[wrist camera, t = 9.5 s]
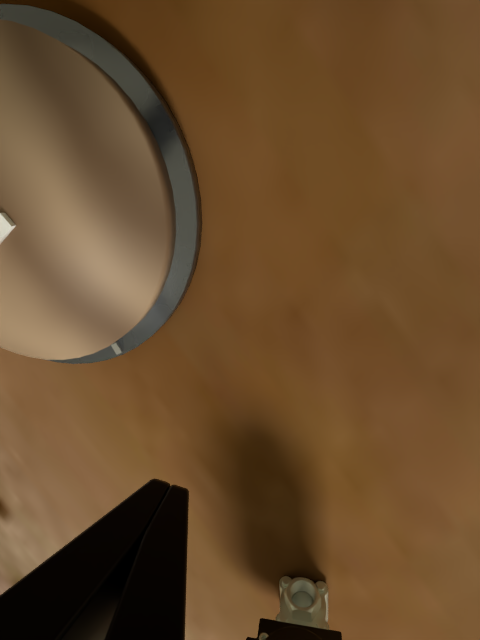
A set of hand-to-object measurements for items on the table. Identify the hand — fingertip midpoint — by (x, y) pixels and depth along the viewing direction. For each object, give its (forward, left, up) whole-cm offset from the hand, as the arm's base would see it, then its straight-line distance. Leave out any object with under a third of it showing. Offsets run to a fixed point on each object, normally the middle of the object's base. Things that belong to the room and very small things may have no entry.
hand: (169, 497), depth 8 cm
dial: (-1, -13, -12) cm, 18 cm away
